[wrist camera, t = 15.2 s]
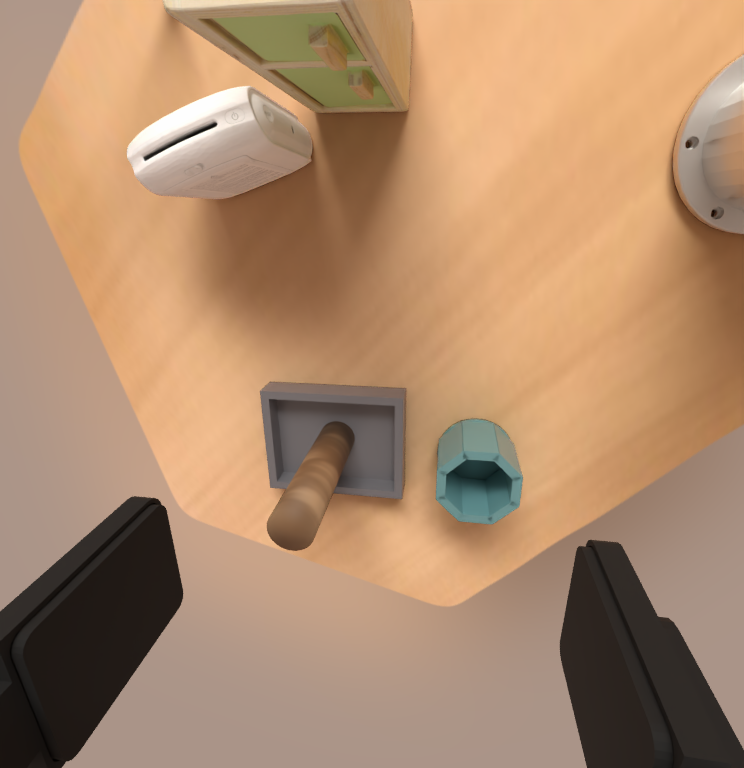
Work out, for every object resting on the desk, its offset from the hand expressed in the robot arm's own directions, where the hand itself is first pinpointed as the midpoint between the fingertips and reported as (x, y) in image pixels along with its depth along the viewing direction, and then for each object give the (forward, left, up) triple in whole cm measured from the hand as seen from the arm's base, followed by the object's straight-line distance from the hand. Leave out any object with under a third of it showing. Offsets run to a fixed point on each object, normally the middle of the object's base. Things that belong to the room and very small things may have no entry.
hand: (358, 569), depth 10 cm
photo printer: (+15, -12, -34) cm, 39 cm away
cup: (-5, +15, -33) cm, 37 cm away
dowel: (+9, +14, -33) cm, 37 cm away
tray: (+9, +14, -33) cm, 37 cm away
